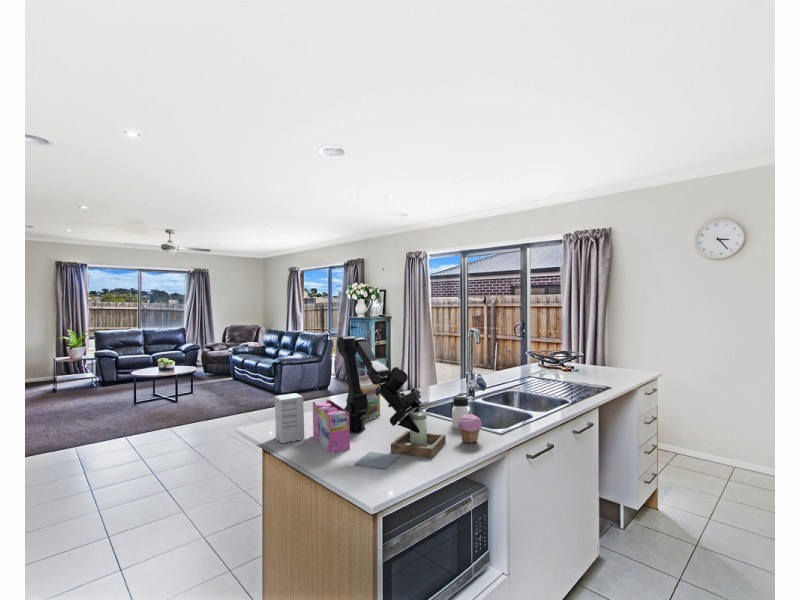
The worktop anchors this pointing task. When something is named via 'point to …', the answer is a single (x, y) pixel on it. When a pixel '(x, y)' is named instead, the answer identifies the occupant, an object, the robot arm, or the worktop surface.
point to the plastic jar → (421, 423)
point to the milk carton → (370, 397)
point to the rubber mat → (376, 460)
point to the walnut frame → (402, 448)
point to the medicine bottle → (459, 409)
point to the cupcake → (469, 427)
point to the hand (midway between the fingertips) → (422, 429)
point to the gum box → (331, 426)
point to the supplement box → (289, 417)
